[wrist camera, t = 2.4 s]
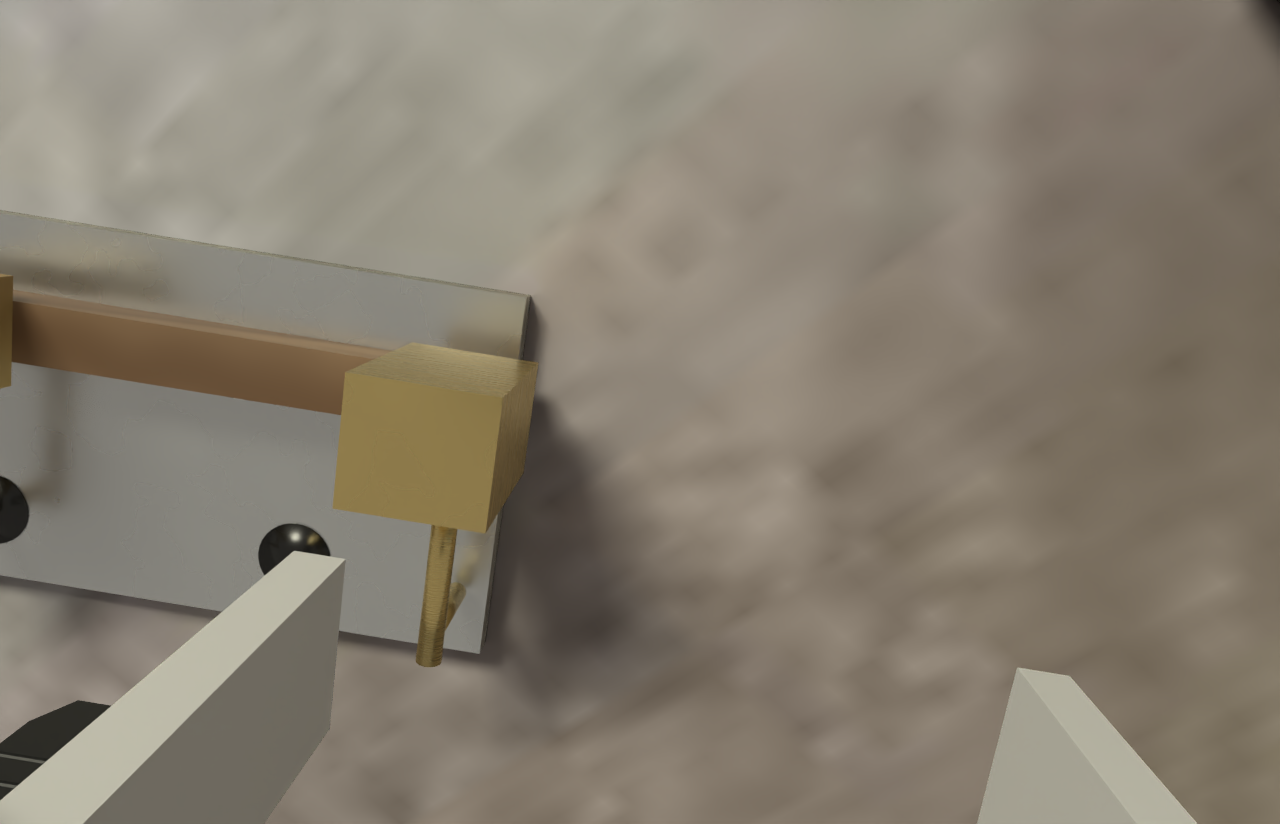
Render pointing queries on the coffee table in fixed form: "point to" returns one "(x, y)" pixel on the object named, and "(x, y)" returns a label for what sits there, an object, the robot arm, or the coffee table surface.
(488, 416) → the slider leg
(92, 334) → the beam
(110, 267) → the hole plate
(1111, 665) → the coffee table surface
